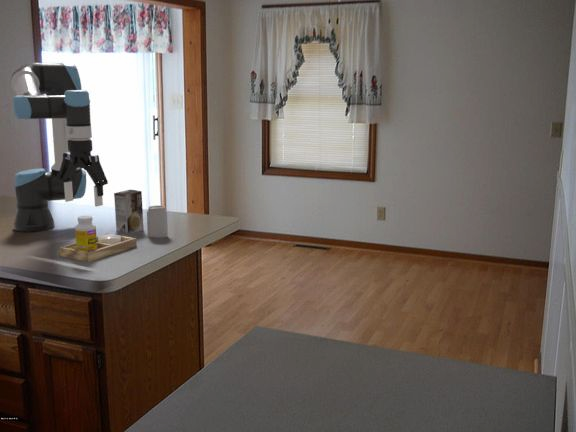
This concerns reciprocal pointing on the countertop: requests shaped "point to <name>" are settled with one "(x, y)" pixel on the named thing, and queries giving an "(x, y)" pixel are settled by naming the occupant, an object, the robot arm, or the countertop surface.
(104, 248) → the rack
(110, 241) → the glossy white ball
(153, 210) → the can
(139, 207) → the coffee box
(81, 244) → the supplement bottle
